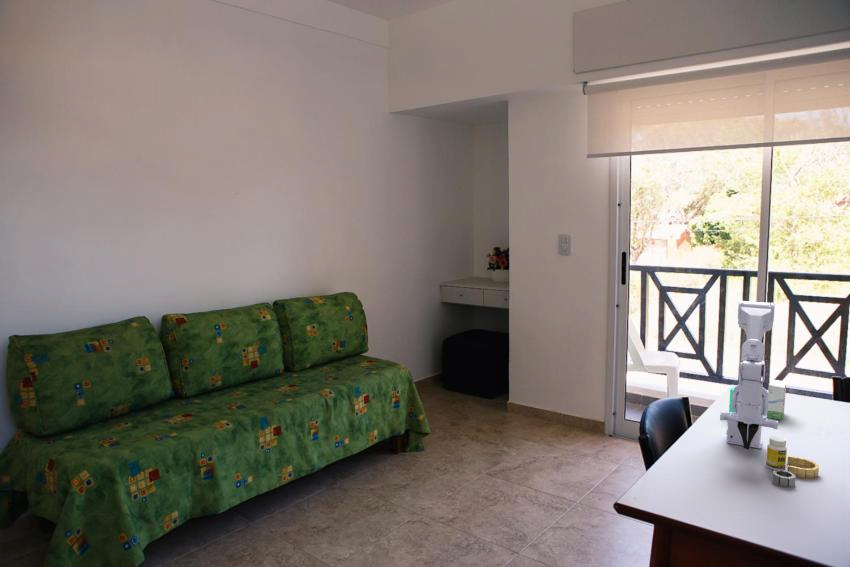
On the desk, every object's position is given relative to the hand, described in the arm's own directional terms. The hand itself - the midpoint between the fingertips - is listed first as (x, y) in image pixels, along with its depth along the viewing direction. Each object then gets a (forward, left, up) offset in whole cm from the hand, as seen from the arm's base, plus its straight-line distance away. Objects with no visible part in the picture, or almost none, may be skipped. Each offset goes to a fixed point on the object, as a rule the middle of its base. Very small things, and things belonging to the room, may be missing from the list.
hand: (746, 448), depth 174 cm
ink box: (+6, +48, -4) cm, 49 cm away
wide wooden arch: (+13, 0, -4) cm, 14 cm away
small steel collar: (+9, -10, -4) cm, 14 cm away
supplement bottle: (+7, 0, -4) cm, 9 cm away
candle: (-5, +38, -4) cm, 39 cm away
